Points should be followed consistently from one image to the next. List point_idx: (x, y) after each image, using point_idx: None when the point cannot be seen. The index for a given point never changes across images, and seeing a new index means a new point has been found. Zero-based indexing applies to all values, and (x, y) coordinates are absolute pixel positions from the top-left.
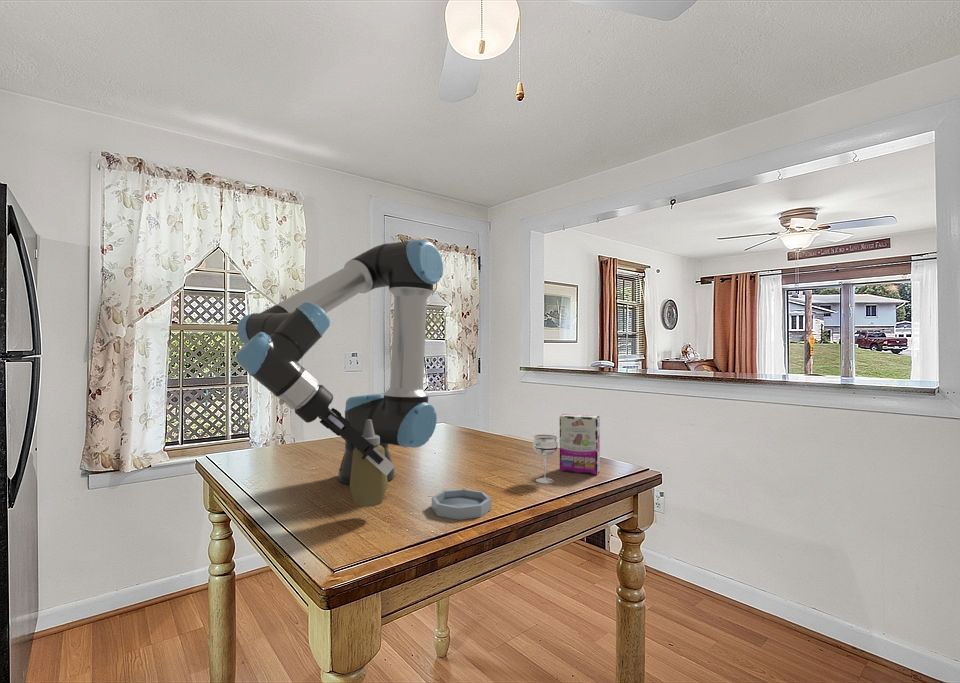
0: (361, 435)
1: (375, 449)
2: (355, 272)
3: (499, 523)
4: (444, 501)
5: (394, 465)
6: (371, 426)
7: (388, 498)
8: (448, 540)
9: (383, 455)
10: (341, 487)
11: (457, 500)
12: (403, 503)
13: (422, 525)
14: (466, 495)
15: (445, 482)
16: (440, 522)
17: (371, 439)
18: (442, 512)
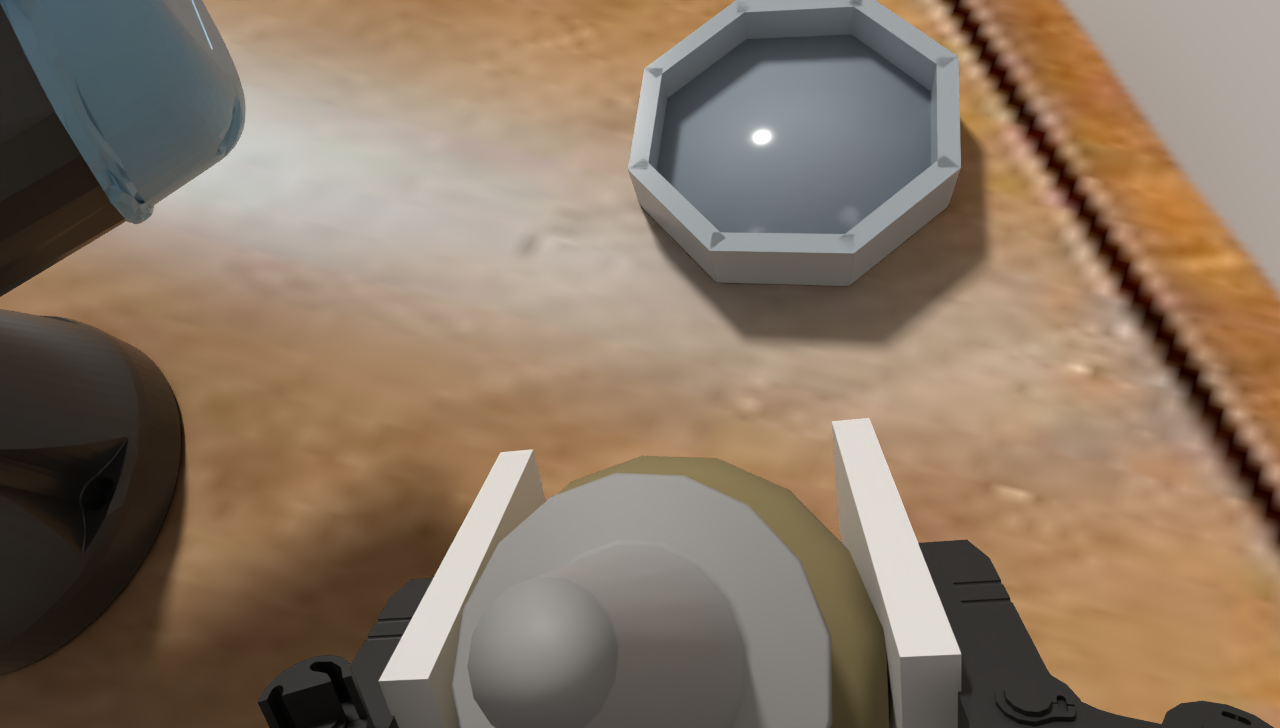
0: (302, 701)
1: (948, 630)
2: None
3: (1062, 52)
4: (709, 202)
5: (870, 424)
6: (665, 611)
7: (447, 462)
8: (1247, 328)
9: (907, 521)
10: (90, 693)
11: (721, 140)
12: (572, 403)
13: (970, 396)
14: (680, 84)
15: (366, 126)
16: (955, 296)
17: (829, 661)
18: (876, 253)
